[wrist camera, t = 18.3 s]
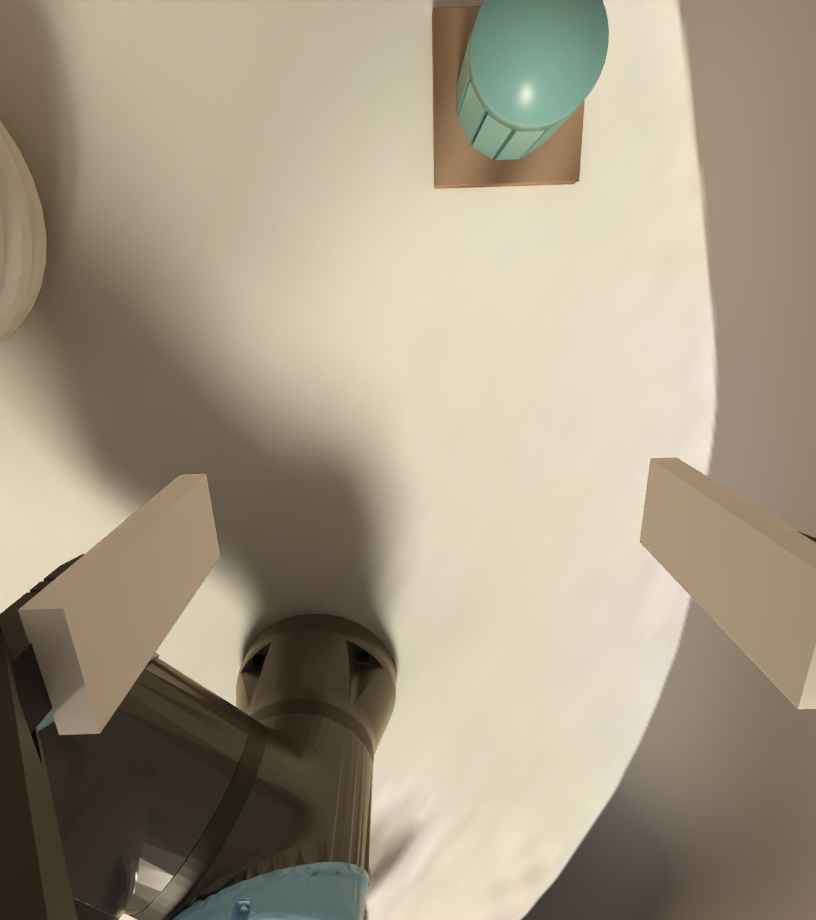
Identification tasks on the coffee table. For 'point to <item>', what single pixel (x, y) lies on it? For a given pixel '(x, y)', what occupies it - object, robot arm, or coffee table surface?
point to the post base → (456, 154)
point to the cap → (528, 71)
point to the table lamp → (18, 238)
